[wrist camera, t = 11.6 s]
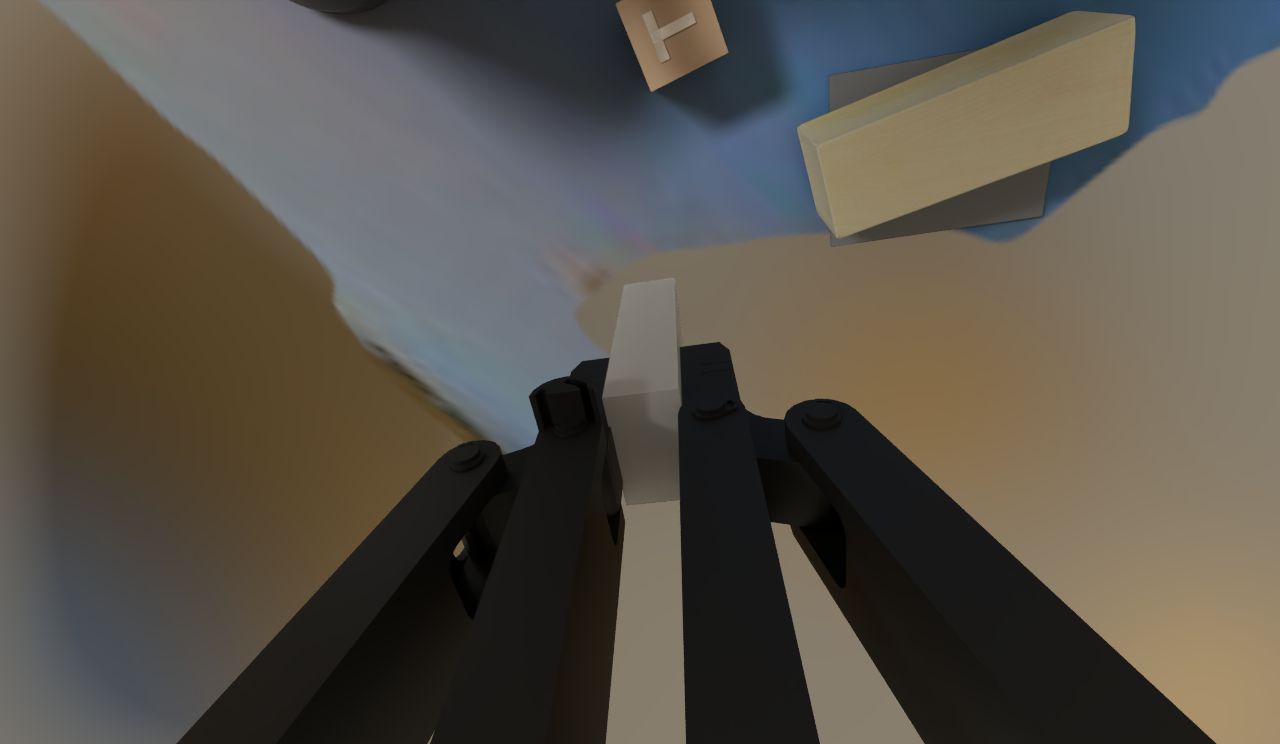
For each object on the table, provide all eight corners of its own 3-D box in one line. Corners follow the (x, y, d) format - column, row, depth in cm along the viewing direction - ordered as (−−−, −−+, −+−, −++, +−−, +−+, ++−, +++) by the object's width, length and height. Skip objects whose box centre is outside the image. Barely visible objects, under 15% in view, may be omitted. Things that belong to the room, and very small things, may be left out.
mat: (830, 245, 52) (831, 246, 52) (828, 75, 46) (829, 75, 46) (1039, 215, 50) (1042, 216, 50) (1068, 32, 44) (1071, 32, 44)
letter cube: (652, 89, 47) (650, 92, 42) (621, 11, 45) (615, 3, 39) (721, 54, 46) (728, 52, 40) (692, -29, 43) (696, -42, 38)
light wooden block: (814, 211, 51) (1068, 112, 47) (837, 242, 45) (1132, 133, 41) (792, 124, 47) (1068, 6, 42) (814, 146, 41) (1139, 11, 36)
